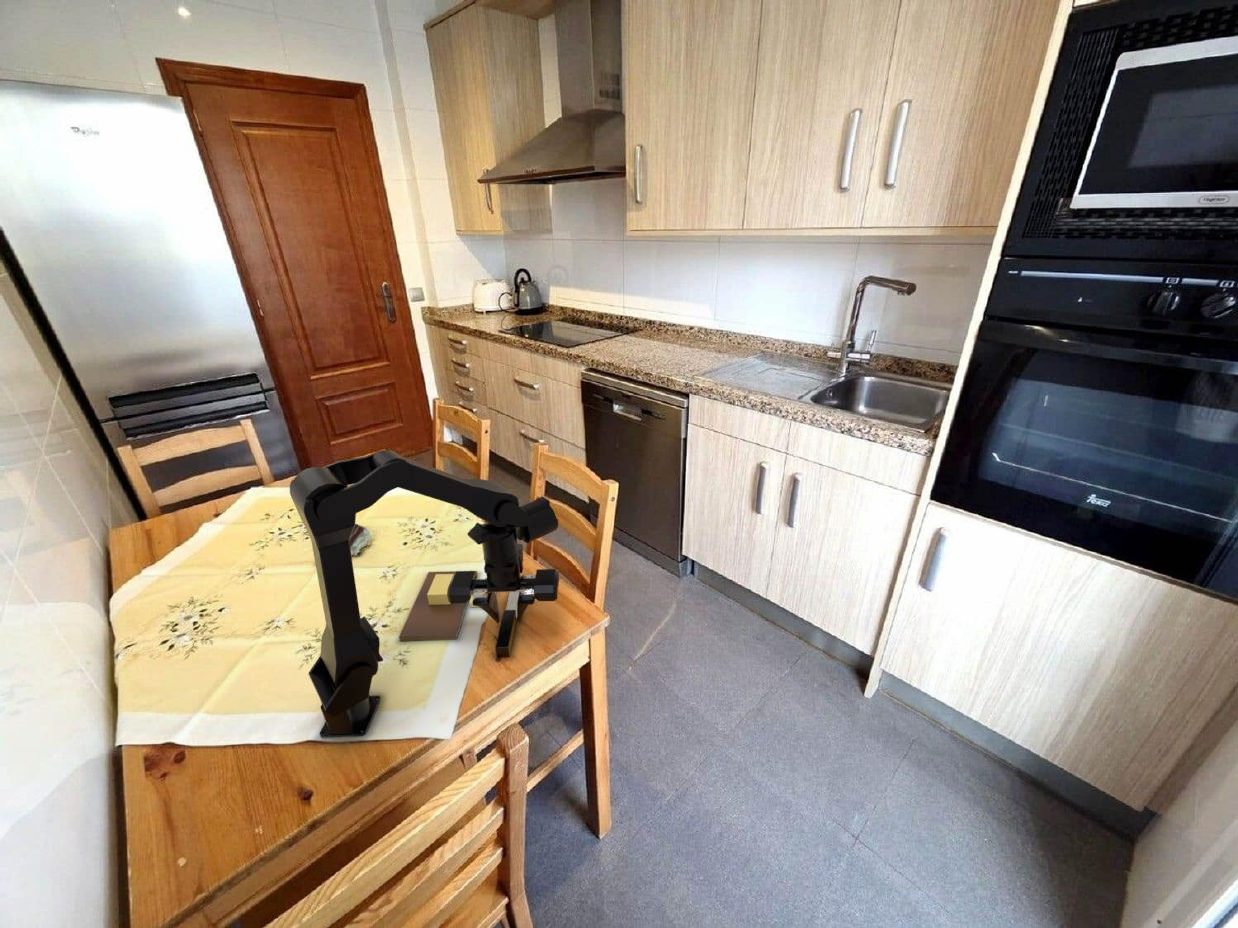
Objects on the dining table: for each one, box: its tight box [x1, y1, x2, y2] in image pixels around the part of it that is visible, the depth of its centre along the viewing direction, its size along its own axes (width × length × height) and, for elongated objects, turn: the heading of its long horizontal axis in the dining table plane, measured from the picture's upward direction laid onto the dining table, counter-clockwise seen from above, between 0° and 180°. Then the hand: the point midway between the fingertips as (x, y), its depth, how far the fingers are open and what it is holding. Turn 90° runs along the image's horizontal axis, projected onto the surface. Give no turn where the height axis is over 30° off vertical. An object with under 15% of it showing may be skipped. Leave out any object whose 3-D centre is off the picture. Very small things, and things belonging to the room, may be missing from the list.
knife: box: [494, 592, 519, 659], centre depth 95 cm, size 21×2×2 cm, turn 3°
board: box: [398, 570, 472, 642], centre depth 97 cm, size 18×10×1 cm, turn 3°
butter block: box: [427, 574, 453, 605], centre depth 98 cm, size 6×4×2 cm, turn 3°
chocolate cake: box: [350, 523, 372, 557], centre depth 112 cm, size 10×7×12 cm
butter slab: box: [468, 594, 480, 608], centre depth 99 cm, size 6×4×1 cm, turn 3°
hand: (509, 621), depth 92 cm, fingers open, 3 cm apart
